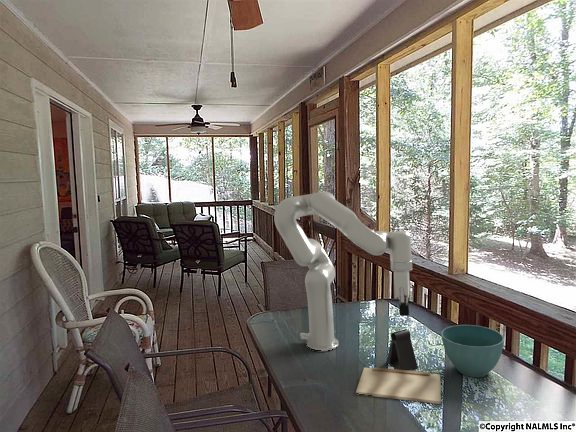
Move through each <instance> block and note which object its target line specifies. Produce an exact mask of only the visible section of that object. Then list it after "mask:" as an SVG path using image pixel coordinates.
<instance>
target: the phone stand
mask: <svg viewBox="0 0 576 432" xmlns="http://www.w3.org/2000/svg"><path fill="white" fill-rule="evenodd" d="M411 336H412V335H411V331H410V330H409V329H407V328H406V329H401V330H398V331H393V332H391V334H390V339H391V341H390V344H389V348H388V349H389V350H388V353H387V358H386V363H387V364H389V365H391V366H392V367H394V369H398V370H409V371H413V370H415V369H418V368H419V366H418V363H417V358H416V354H415V351H414V346H413V343H412V339H411V338H412V337H411Z"/></svg>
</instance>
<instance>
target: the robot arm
mask: <svg viewBox="0 0 576 432" xmlns="http://www.w3.org/2000/svg"><path fill="white" fill-rule="evenodd" d="M273 215H274V217H273V218H274V219H273V220H274V225H275V228H276V229H277V231H278V233H279V235H280V237H281V238H282V239H283V241H284V243H285V246H286V247H287V248H288V250H289V253H290V254H291V255H292V257H293V260H294V261H295V263H297V265H299V266H301V267H308V269H309V270H308V271H307V272H306V274H305V278H304V285H305V292H306V296H307V297H306V298H307V311H308V326H309V328H308V329H309V332H308V333H307V332H300V333H299V338H300V339H301V341H302V340H304V341H305V340H306V343H305V345H306V344H307V345H306V347H307V346H308V347H310V348H312V349H315V350H321V351H320V352H329V351H328V350H330V351H332V349H333V350H335V349H337V348H338V347H339V340H338V339H337V338H336V337H335V329H334V327H335V326H334V314H333V313H334V309H333V298H332V297H333V295H332V289H331V284H332V282H333V281H334V280H335V277H336V268H335V266H334V264H333V262H332V261H331V260H330V258H329V256H328V254H327V252H326V251H325V249H324V248H323V246H322V245H321V243H320V242H318V241H317V240H316V239H314V238H309V237H308V236H307V235H306V233H305V231H304V230H303V228H302V226H301V225H300V224H299V222H297V219H298V218H301V217H306V216H312V215H313V216H314V215H317V216H318V217H319V218H322V219H323V220H324V221H326V222H327V223H329V224H331V225H332V226H333V227H334V228H336V229H337V230H339V231H340V232H341V233H342V234H343V235H344V236H345V237H346V238H348V239H349V240H350V241H351V242H352V243H353V244H355V245H356V246H357V247H359V248H361V249H362V250H364V251H365V252H367V253H368V254H369V255H372V256H381V255H383V254H384V253H385V252H386V251H389V258H390V259H389V261H390V271H392V272H393V289H394V291H393V292H394V294H393V295H394V299H398V301H399V303H398V308H399V316H402V317H403V316H405V317H406V316H407V317H409V316H410V306H409V297H410V286H411V284H410V271H413V256H412V255H413V254H412V242H411V234H410V232H408V231H405V230H397V231H382V230H376V231H374V230H372V229H371V228H370V227H368V226H366V224H364V223H363V222H362V221H361V220H360V219H359V218H358V216H357V215H356V213H355V212H354V211H353V210H351V209H350V208H348V207H347V206H345V204H342V203H340V202H339V201H338V200H337V199H336V198H335V196H334V195H333V194H332V193H331V192H329V191H324V190H323V191H318V192H315V193H310V194H303V195H297V196H291V197H287V198H284V199H283V200H281V201H280V202H279V204H278V205H277V207H276V208H275V211H274V214H273ZM308 347H307V348H308ZM336 347H337V348H336Z"/></svg>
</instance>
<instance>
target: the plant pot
mask: <svg viewBox="0 0 576 432" xmlns="http://www.w3.org/2000/svg"><path fill="white" fill-rule="evenodd" d="M440 333H441V340H442V345H443V348H444V350H445V353H446V355H447V358H448V359H449V360H450V362H451V364H452V365H453V366H454V367H455V369H456V370H457V371H458V372H459V373H460V374H462V375H464V376H466V377H469V378H483V377H485V376H487V375H489V373H490V372H492V371H493V369H494V368H495V367H496V366H497V364H498V362H499V360H500V359H501V356H502V353H503V349H504V344H505V343H504V340H505V339H504V338H505V337H504V335H503V334H502V333H500V332H499V331H497V330H495V329H493V328H489V327H485V326H481V325H473V324H459V325H458V324H457V325H451V326H447V327H446V328H444V329H443V330H442V331H441V332H440Z"/></svg>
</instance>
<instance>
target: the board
mask: <svg viewBox="0 0 576 432" xmlns="http://www.w3.org/2000/svg"><path fill="white" fill-rule="evenodd" d="M356 393H359V394H365V395H364V396H368V395H372V396H371V397H377V398H387V399H393V400H395V399H396V400H402V401H413V402H420V403H421V402H422V403H429V404H436V405H438V404H439V405H441V404H442V397H441V374H437V373H430V372H429V371H420V370H419V371H416V370H399V369H397V368H385V367H375V366H373V367H363V370H362V372H361V375H360V378H359V382H358V385H357V387H356V390H355V394H356ZM359 394H358V395H359Z"/></svg>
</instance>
